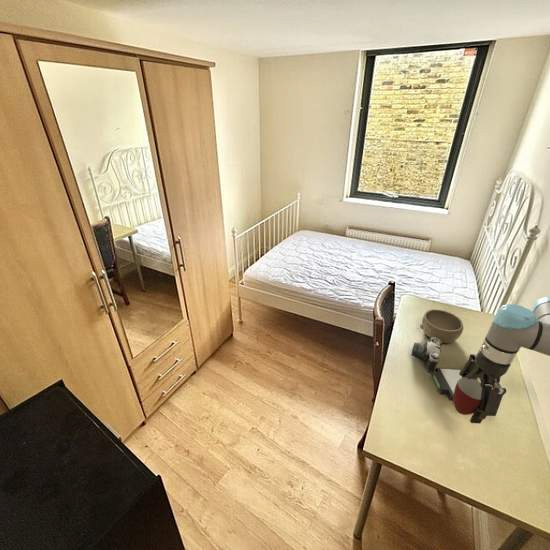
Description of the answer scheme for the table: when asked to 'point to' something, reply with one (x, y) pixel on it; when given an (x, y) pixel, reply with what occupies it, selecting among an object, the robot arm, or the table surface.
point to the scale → (446, 380)
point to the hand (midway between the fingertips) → (467, 409)
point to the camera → (428, 353)
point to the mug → (467, 395)
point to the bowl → (442, 325)
